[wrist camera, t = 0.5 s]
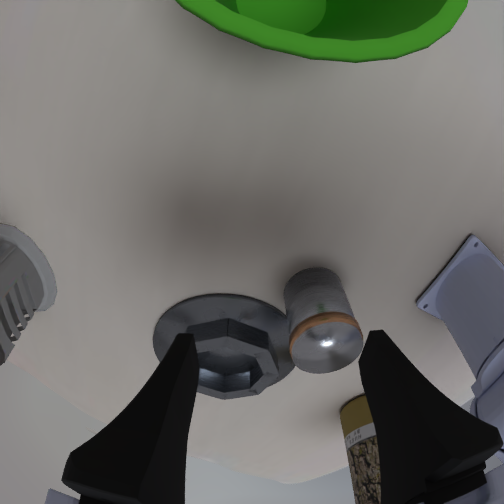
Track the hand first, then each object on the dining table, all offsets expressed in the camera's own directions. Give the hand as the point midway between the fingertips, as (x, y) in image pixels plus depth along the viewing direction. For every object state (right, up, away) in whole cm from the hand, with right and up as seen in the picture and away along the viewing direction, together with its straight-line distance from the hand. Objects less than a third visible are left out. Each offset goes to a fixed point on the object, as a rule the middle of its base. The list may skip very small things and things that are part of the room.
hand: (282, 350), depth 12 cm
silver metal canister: (+3, +1, +11) cm, 12 cm away
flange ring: (-3, -5, +14) cm, 15 cm away
